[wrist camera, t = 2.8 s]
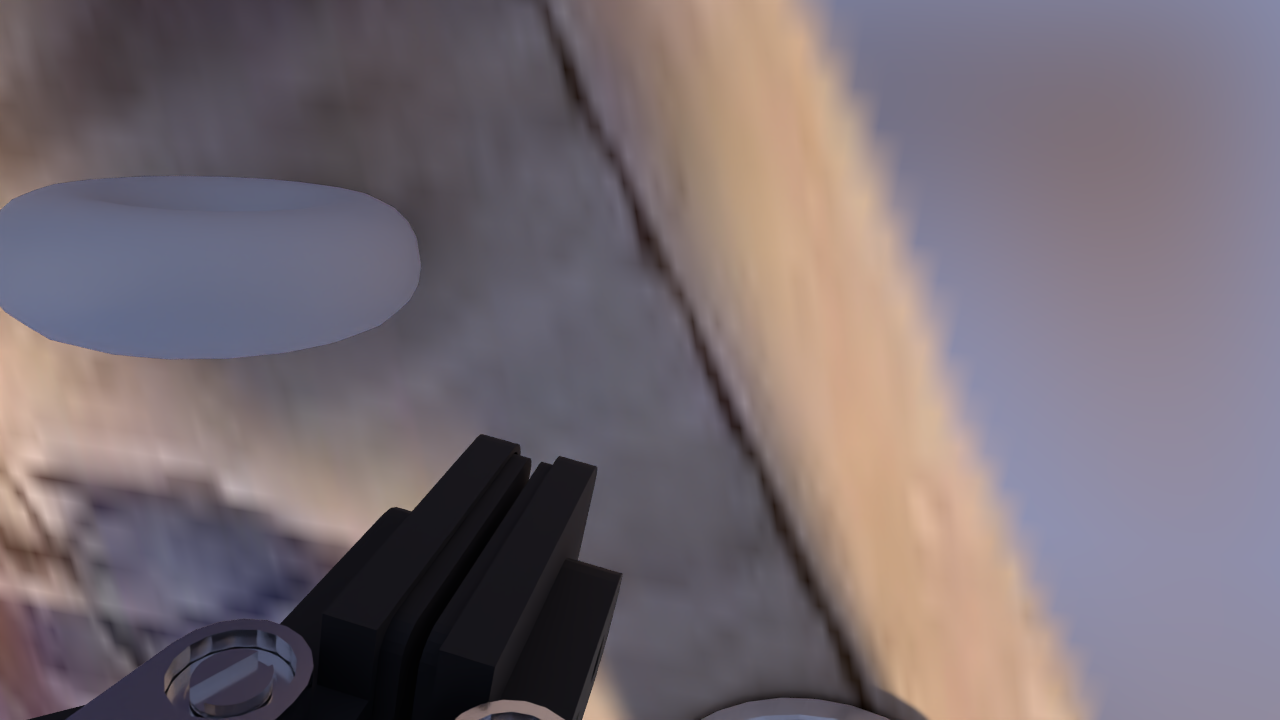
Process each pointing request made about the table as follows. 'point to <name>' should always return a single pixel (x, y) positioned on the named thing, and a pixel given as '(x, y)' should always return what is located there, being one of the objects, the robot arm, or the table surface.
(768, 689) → the table surface
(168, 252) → the donut
